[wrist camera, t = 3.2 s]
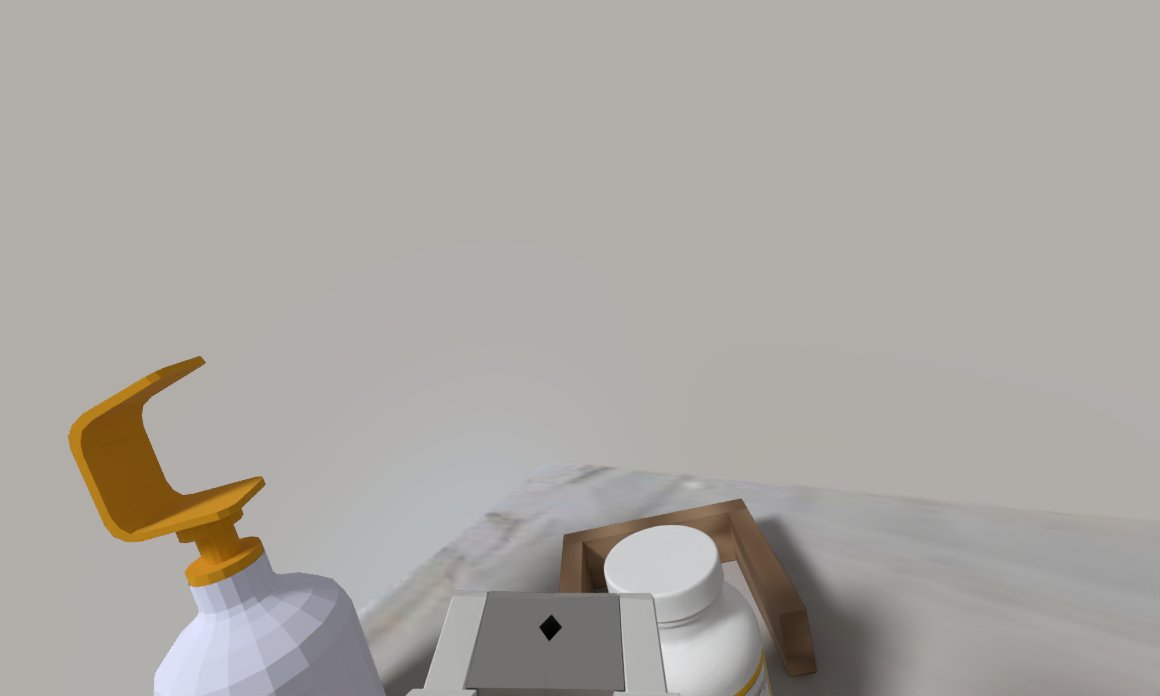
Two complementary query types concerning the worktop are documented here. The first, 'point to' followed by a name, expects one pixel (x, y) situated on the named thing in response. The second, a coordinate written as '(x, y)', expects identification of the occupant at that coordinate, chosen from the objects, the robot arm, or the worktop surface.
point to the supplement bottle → (692, 611)
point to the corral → (733, 542)
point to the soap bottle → (221, 571)
